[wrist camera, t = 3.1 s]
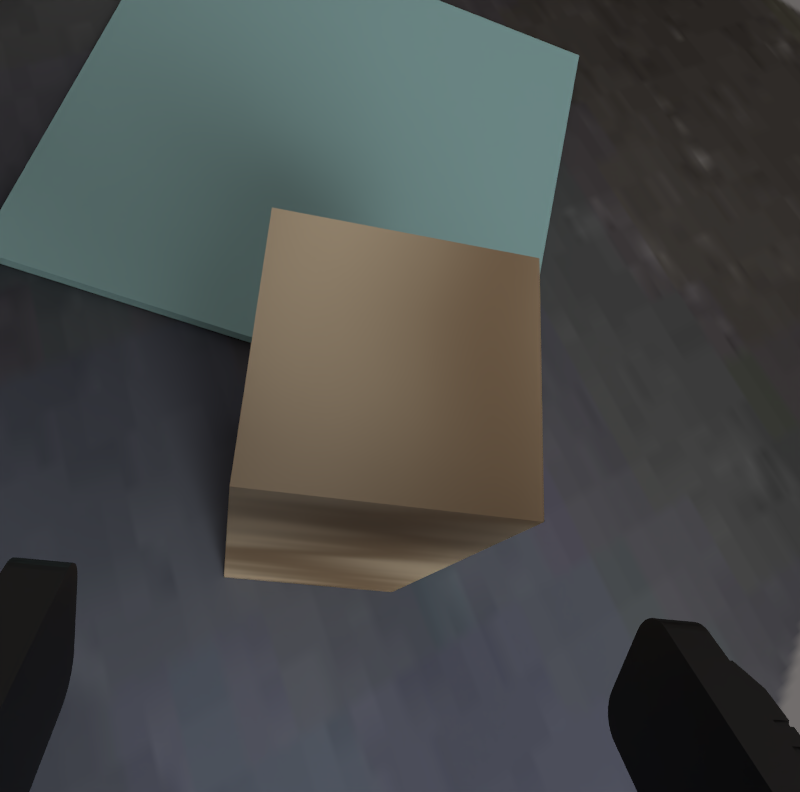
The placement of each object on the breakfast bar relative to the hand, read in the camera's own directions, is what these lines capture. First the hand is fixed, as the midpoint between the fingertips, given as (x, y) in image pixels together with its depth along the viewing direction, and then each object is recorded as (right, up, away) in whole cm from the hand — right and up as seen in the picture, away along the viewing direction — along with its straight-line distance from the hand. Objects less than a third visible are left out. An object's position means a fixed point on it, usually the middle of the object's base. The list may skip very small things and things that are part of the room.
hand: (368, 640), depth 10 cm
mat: (-2, +12, +14) cm, 19 cm away
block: (-2, 0, +10) cm, 10 cm away
